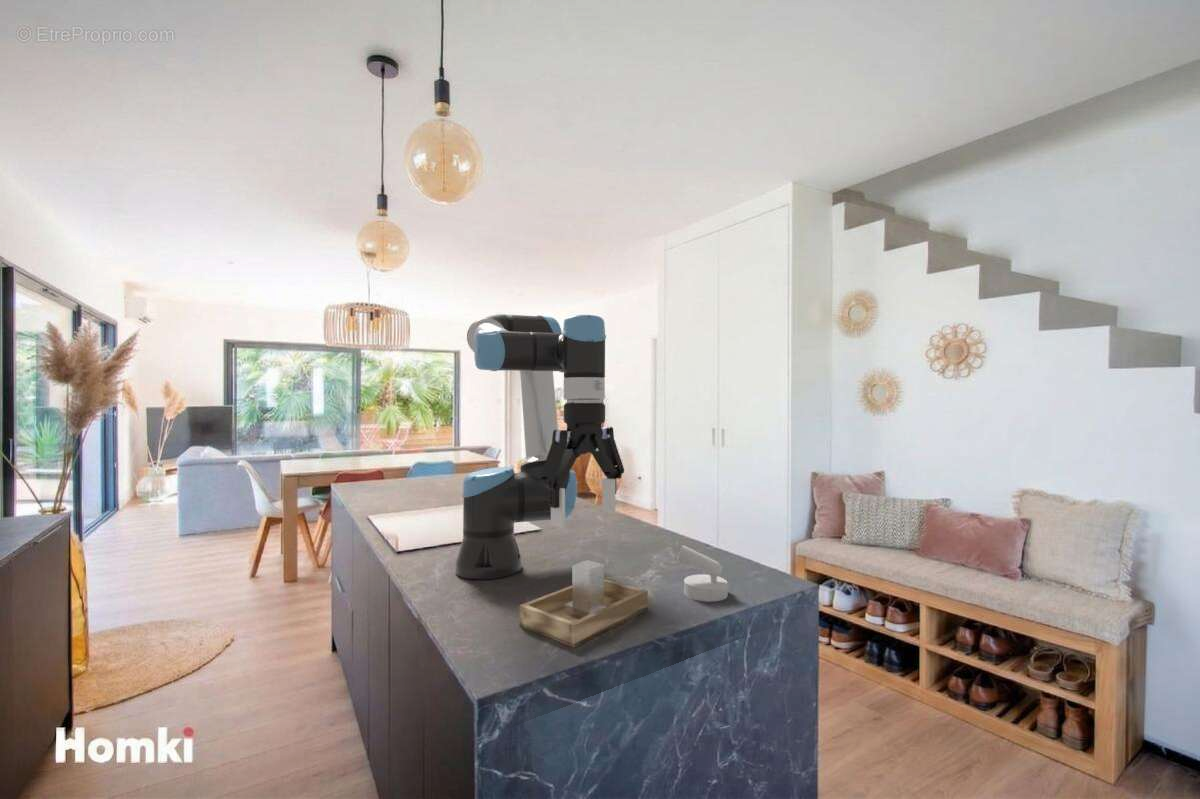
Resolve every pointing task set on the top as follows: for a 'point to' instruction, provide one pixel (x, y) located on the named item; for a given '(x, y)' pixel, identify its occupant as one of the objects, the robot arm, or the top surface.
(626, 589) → the wooden tray
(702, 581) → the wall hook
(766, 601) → the top surface
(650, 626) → the top surface
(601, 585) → the frosted glass pillar
